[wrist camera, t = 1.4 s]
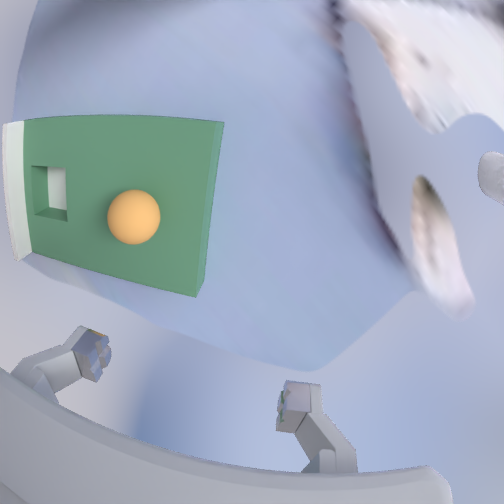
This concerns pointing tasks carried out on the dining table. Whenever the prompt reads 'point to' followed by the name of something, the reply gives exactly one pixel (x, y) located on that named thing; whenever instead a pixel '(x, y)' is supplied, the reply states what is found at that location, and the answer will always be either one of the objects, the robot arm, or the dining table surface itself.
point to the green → (113, 192)
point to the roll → (492, 175)
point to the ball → (133, 217)
